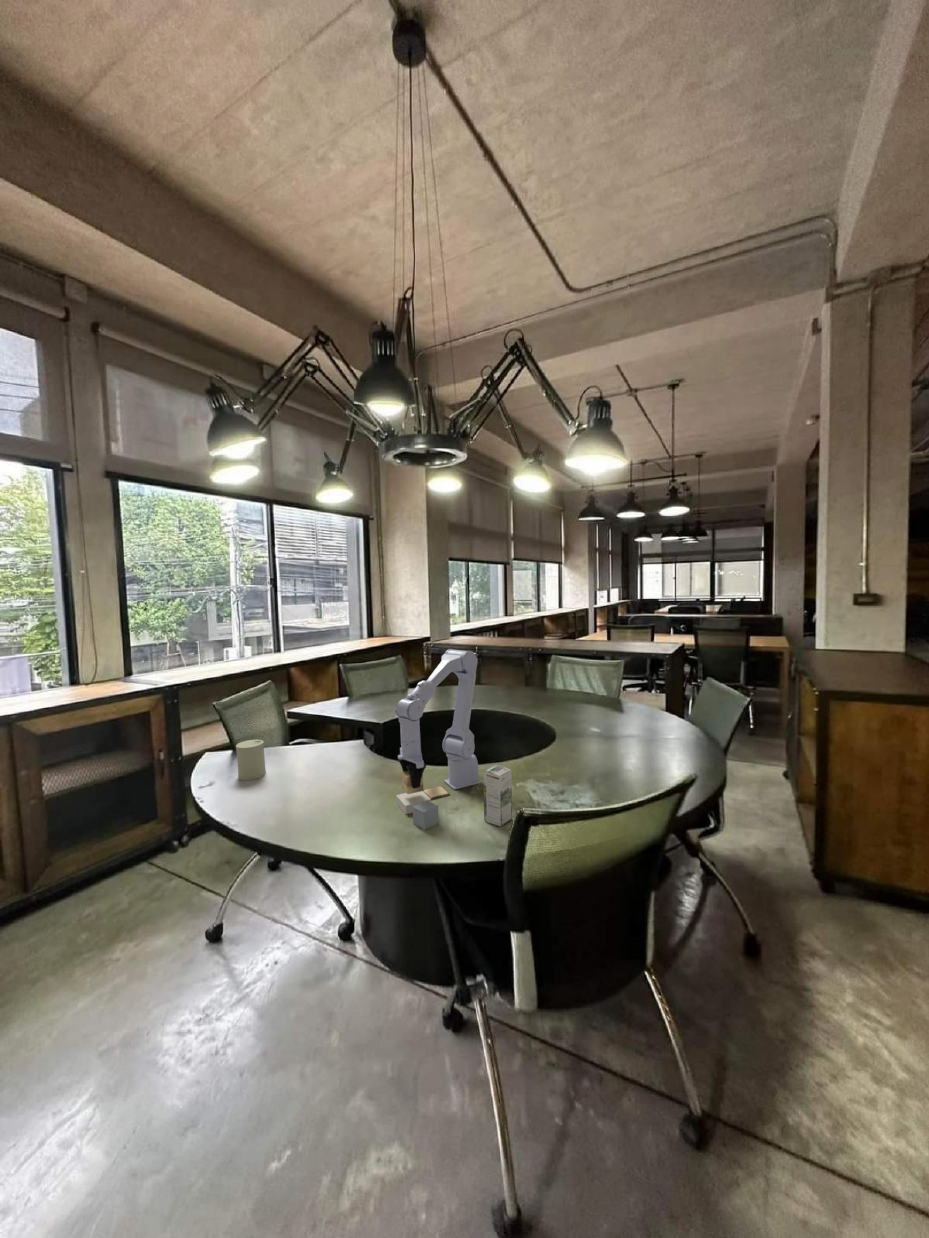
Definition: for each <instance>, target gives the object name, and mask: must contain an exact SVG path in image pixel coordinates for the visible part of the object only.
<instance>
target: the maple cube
mask: <svg viewBox="0 0 929 1238" xmlns="http://www.w3.org/2000/svg"><path fill="white" fill-rule="evenodd" d="M401 790H403V791H404V793H407V794H412V793H416V792H420V791H424V790H425V789H424V773H423V774H422V778H421V783H420V787H418V788H412V784H411V779H410V774H409V772H408V771H404V772H403V771H401Z"/></svg>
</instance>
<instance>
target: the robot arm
mask: <svg viewBox="0 0 929 1238" xmlns="http://www.w3.org/2000/svg"><path fill="white" fill-rule="evenodd" d="M440 660H441V661H440V663H439V664H438V665H437V666H436V668H435V669H434V670H433V672H432V673H431V674H430V676H428V679H427V680H421V681H419V682H418V683H417V685H416V687H415V688H414V689H413V690H412V691H411V692H410V693H408V695H407V697H406V698H402V699H400V700H399V701H398V702H397V705H396V708H395V709H394V713H395V715H396V716H397V718H398V722H399V726H400V728H399V729H400V745H401V747H399V754H398V755H397V761H398V763H399V764H400V766H401V770H402V772H404V771H408V772H409V774H410V779H411V784H412V788H418V787H420V783H421V778H422V774H423V775H424V772H425V770H426V768H427V763H425V762H424V761H425V760H423V753H422V749H421V747H422V746H421V731H420V730H421V729H420V728H421V726H420V721H421V720H420V718H422V717H423V714H424V710H425V708H426V706H427V704H429V701H430V700H431V699H432V698H433V697H434V696H435V694H436V693H437V692H436V690H437V689H436V687H437V686H440V685H439V684H441V682H443V681H444V680H445V679H446V677H448V676H449V675H450V674H451V673H454V674H455V676H457V678H458V685H457V690H456V691H457V692H456V699H455V706H454V711H453V720H452V725H451V727H450V728H447V730H446V731H445V735H444V738H443V740H442V745H441V747H442V750H443V752H444V753H445V756H446V757H447V767H448V768H447V769H448V778H447V779H444V780H443V782H444V783H446V785H448V786H449V787H450V788H452V789H453V790H458V789H459V790H460V789H464V788H466V787H467V788H468V787H470V786H474V785H477V784H478V785H479V784H480V783H481V781H480V780H479V762H478V759H477V756H476V755H475V754H474V752H475V749H476V747H475V746H476V744H475V734H474V733H473V732H472V731H471V730H470V721H471V713H472V706H473V699H474V693H475V691H474V690H475V687H476V686H475V685H476V678H477V667H478V657H477V655H476V654H475V653H474V651H472V650H463V649H462V650H461V649H453V648H448V649H447V650H445V653H443V654H442V655H441V659H440Z"/></svg>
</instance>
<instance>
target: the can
mask: <svg viewBox="0 0 929 1238" xmlns="http://www.w3.org/2000/svg"><path fill="white" fill-rule="evenodd" d="M235 749H236V759H237V761H236V762H237V774H238V775H237V777H238V779H239V780H241V781H251V780H256V779H260V778H262V777H264V776H265V775H266V774H267V770H266V761H265V760H266V759H265V744H264V740H263V739H257V738H256V739H249V740H243V741H241V742H239V743H236V744H235Z"/></svg>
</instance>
